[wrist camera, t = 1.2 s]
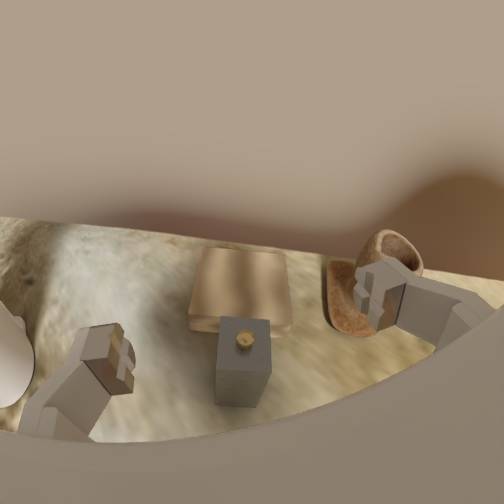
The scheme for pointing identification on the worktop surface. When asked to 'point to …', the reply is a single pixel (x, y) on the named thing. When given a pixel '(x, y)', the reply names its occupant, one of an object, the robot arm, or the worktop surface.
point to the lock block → (242, 361)
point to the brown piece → (344, 281)
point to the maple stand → (240, 290)
